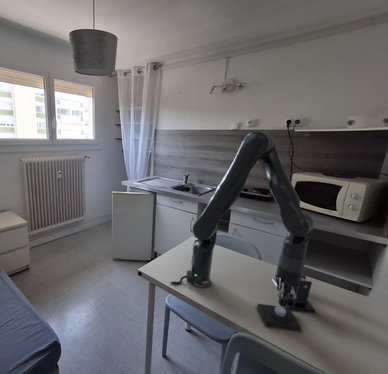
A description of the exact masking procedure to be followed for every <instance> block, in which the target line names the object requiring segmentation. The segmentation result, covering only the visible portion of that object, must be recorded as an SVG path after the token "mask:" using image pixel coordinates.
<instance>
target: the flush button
mask: <svg viewBox="0 0 388 374" xmlns="http://www.w3.org/2000/svg"><path fill="white" fill-rule="evenodd" d="M275 306H276V307H275V313H276V314H277V315H279V316H281V317H284V316H285V315H286V310H285V309H284V308H283V307H284V306H281V307H280V305H275Z"/></svg>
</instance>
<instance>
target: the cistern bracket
mask: <svg viewBox="0 0 388 374" xmlns="http://www.w3.org/2000/svg"><path fill="white" fill-rule="evenodd" d="M301 278H304V279H305V280H306V281H302V280H301V281H300V282H298V284H296V290H295V294H296V295H298V296H299V298H298V299H296V300H294V301H287V305H286V307H288V308H289V309H290V310H291V311H292V310H293V311H300V312H307V313H308V312H309V313H316V309H315V308H314V307H313V306H312V304H311V303H310V302H309V301H308V299H309V295H310V291H311V287H312V281H310V280H307V279H306V278H307V276H306V275H305V274H302V277H301Z"/></svg>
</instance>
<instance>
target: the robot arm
mask: <svg viewBox="0 0 388 374" xmlns="http://www.w3.org/2000/svg"><path fill="white" fill-rule="evenodd" d="M280 159H281V158H280V157H279V154H278V151H277V148H276V144H275V140H274V138H273V136H272V135H271V134H270V133H268V132H265V131H260V130H255V131H252V132H249V133H248V134H246V136H245V137H244V138H243V139H242V142H241V144H240V146H239V148H238V150H237V152H236V155H235V157H234V159H233V160H232V162H231V164H230V166H229V167H228V168H227V170H226V171H225V172H224V174H223V177H222V178H221V180H220V181H219V182H218V184H217V186H216V188H215V190H214V191H213V193H212V195H211V197H210V199H209V201H208V203H207V204H206V207H205V208H204V210H203V212H202V213H201V215H200V216H199V217H198V218H197V220H196V221H195V222H194V223H193V226H192V234H193V236H194V237H195V239H194V241H193V244H192V255H191V259H190V267H189V268H190V269H189V270H188V269H187V270H186V275H182V276H181V277H180V280H179V281H171V282H170V284H171V285H179V284H182V283H183V280H184V279H186V283H189V284H190V285H191V284H192V285H194V286H196V287H199V288H206V287H208V286H209V285H210V282H211V273H212V272H211V271H212V264H213V255H214V248H215V246H216V241H217V236H218V235H217V234H218V223H219V221H220V220H221V219H222V217H223V216H224V215H226V213H227V212H228V211H229V210H230V209H231V207H233V205H234V204H235V203H236V201H237V200H238V198H239V197H240V195H241V194H242V192H243V191H244V189H245V186H246V183H247V180H248V178H249V175H250V173H251V171H252V169H253V168H254V166H255V165H256V164H257V163H259V164H260V166H261V168H262V170H263V172H264V175H265V179H266V183H267V185H268V189H269V191H270V193H271V195H272V198H273V200H274V202H275V204H276V205H277V207H278V210H279V214H280V218H281V222H282V224H283V227H284V228H285V230H286V231H287V235H286V237H285V238H284V240H283V242H282V247H281V252H280V255H279V258H278V263H277V268H276V274H275V280H276V284H277V288H276V290H277V291H278V295H279V298H278V304H279V305H278V306H281V307H287V306H286V305H287V301H294V300H296V299H298V298H299V296H298V295H296V294H295V290H296V283H298V282H300V281H301V277H302V275H303V272H304V268H305V262H306V261H305V260H306V255H307V250H308V244H309V242H310V239H311V236H312V235H313V234H312V233H313V231H314V227H315V220H314V218H313V216H312V215H310V214H309V213H307V212H304V211H303V210H302V208H301V198H300V196H299V195H298V193H297V191H296V189H295V187H294V185H293V184H292V181H291V180H290V178H289V176H288V174H287V172H286V171H285V168H284V166H283V164H282V162H281V160H280Z"/></svg>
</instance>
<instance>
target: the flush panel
mask: <svg viewBox="0 0 388 374" xmlns="http://www.w3.org/2000/svg"><path fill="white" fill-rule="evenodd" d="M276 306H277V305H271V304H263V303H257V307H256V309H257V311H258V313H259V315H260V318H261V319H262V323H264V326H265V327H269V328H270V327H271V328H278V329H285V330H292V331H300V330H301V328H302V327H301V326H302V325H301V324H300V323H299V320H297V318H296V316H295V314H293V312H292V310H291V309H289V308H288V307H287V306H286V307H284V306H280V305H279V306H280V307H283V308H284V309H285V310H286V315H285V316H284V317H281V316H279V315H277V314H276V313H275V307H276Z"/></svg>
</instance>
